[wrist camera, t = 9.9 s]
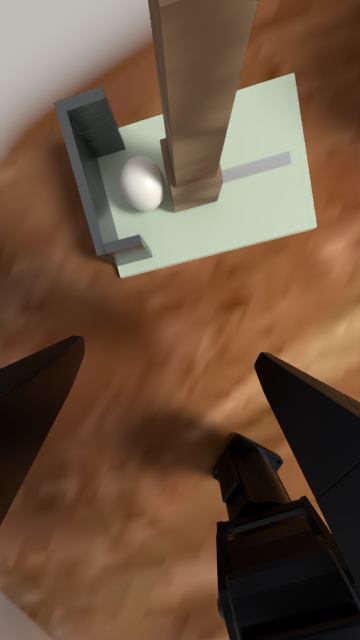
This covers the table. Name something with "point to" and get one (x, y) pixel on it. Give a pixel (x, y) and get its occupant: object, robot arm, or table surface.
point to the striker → (198, 88)
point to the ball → (142, 183)
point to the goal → (96, 171)
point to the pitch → (238, 183)
